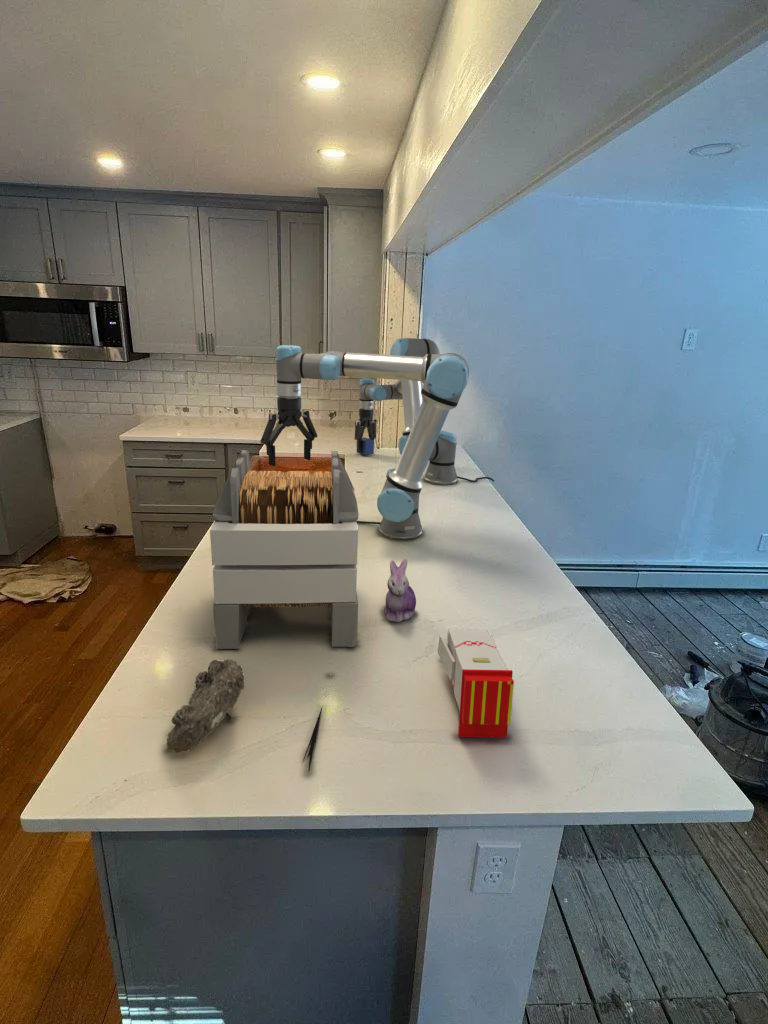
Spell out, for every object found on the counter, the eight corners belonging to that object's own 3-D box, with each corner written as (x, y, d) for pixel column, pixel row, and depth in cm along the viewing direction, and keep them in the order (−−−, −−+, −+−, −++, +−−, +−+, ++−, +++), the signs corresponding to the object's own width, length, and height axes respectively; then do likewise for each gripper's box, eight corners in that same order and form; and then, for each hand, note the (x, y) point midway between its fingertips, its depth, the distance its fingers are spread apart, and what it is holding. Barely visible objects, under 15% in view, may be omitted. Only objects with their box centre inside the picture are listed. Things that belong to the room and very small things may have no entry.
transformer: (234, 582, 160) (226, 440, 146) (350, 581, 163) (353, 443, 150) (213, 651, 128) (201, 478, 114) (357, 647, 132) (363, 480, 118)
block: (365, 455, 300) (365, 441, 297) (356, 452, 305) (356, 438, 302) (373, 453, 304) (374, 439, 301) (364, 451, 309) (365, 437, 306)
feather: (331, 679, 122) (336, 673, 122) (307, 777, 96) (313, 769, 95) (324, 675, 122) (329, 669, 121) (298, 772, 95) (304, 764, 95)
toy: (488, 613, 130) (523, 677, 101) (484, 667, 133) (517, 744, 104) (435, 612, 130) (455, 676, 101) (432, 666, 133) (451, 743, 103)
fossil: (192, 660, 117) (244, 628, 112) (224, 691, 120) (276, 661, 115) (142, 746, 98) (202, 712, 93) (182, 779, 101) (242, 748, 96)
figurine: (392, 627, 141) (395, 572, 136) (374, 608, 149) (376, 556, 144) (425, 619, 145) (429, 566, 140) (405, 601, 154) (408, 550, 149)
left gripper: (260, 401, 167) (262, 470, 175) (328, 395, 184) (327, 459, 191) (247, 397, 173) (250, 465, 180) (314, 392, 189) (314, 454, 196)
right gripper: (357, 411, 288) (356, 455, 295) (384, 408, 300) (382, 451, 308) (347, 409, 293) (346, 452, 300) (375, 406, 305) (373, 448, 313)
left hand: (290, 462), depth 185 cm, fingers open, 13 cm apart
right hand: (365, 451), depth 304 cm, fingers closed on block, 6 cm apart
